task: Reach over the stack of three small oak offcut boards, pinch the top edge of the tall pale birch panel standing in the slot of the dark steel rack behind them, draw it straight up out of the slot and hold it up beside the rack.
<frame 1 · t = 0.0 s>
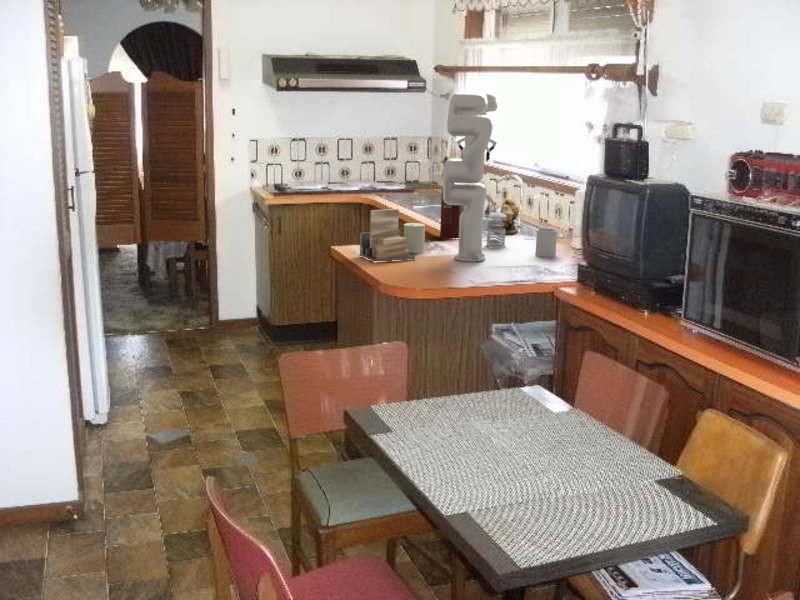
hand: (475, 161, 390), 37 cm above the table, tool pointing down, fingers open, 9 cm apart
offcut bottom: (390, 256, 362), point 1 cm above the table, touching offcut middle, steel rack
can: (413, 251, 382), on the table
french press: (493, 246, 398), on the table
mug: (546, 255, 381), on the table
steel rack: (387, 258, 366), on the table
offcut top: (392, 244, 361), point 6 cm above the table, touching offcut middle
birch panel: (383, 253, 368), point 1 cm above the table, touching steel rack
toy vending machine: (450, 238, 418), on the table
offcut middle: (389, 250, 362), point 4 cm above the table, touching offcut bottom, offcut top
tan bust sculpture: (505, 232, 437), on the table
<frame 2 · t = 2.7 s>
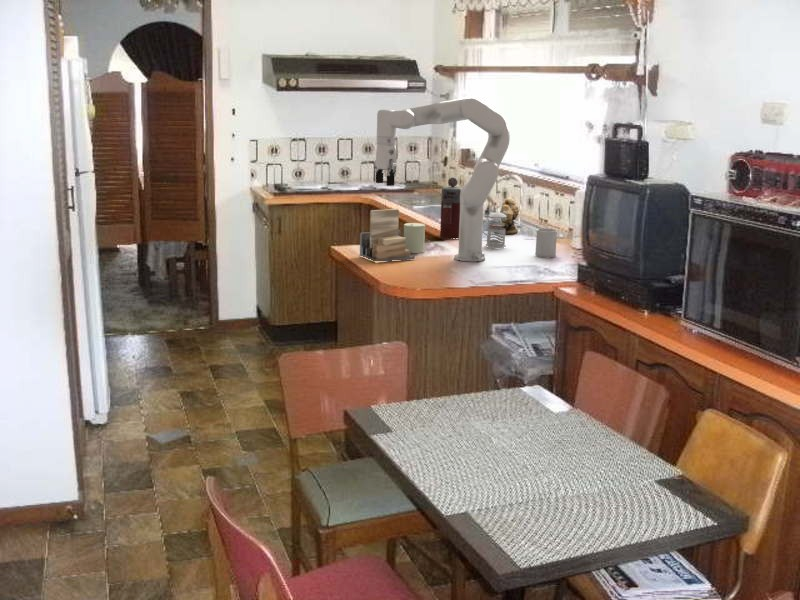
hand: (384, 184, 361), 30 cm above the table, tool pointing down, fingers open, 9 cm apart
nothing on the table moved.
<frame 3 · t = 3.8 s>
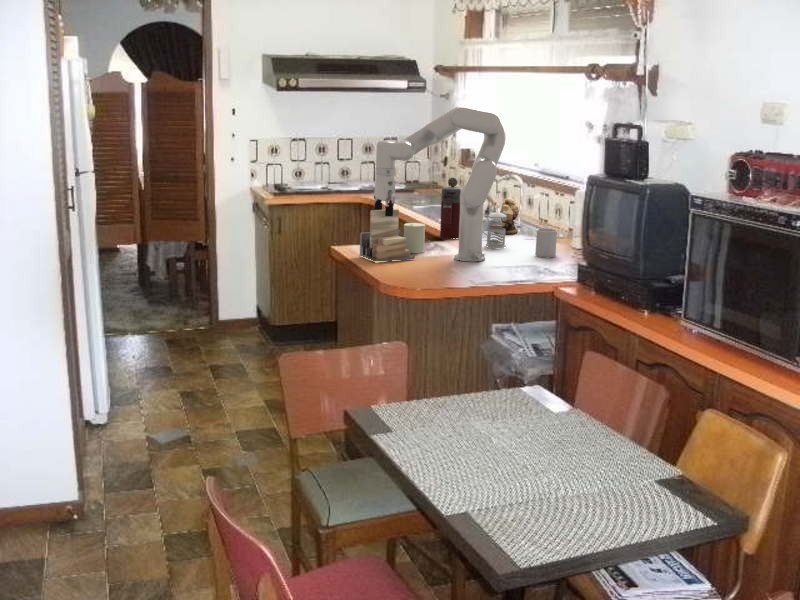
hand: (383, 214, 364), 18 cm above the table, tool pointing down, fingers open, 9 cm apart
nothing on the table moved.
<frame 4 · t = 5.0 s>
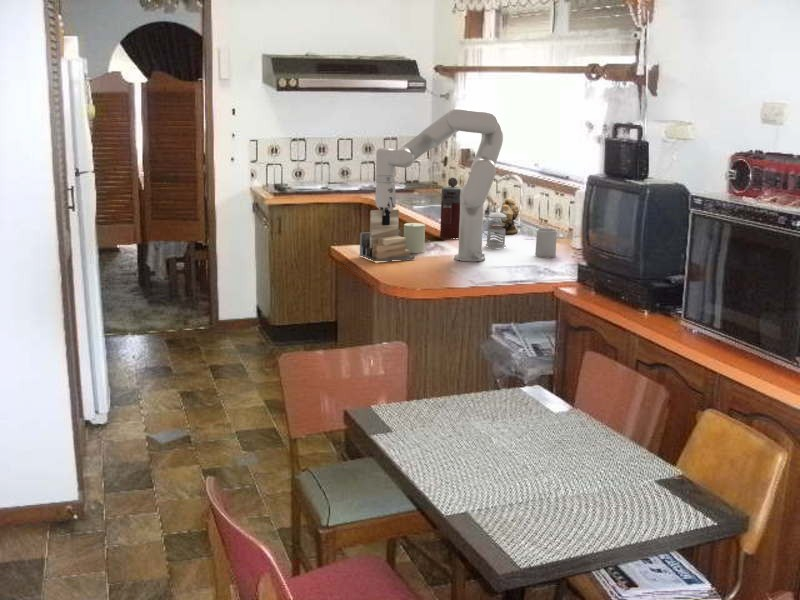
hand: (384, 224, 365), 14 cm above the table, tool pointing down, fingers closed on birch panel, 2 cm apart
birch panel: (383, 253, 368), point 2 cm above the table, touching gripper
everything else where it was.
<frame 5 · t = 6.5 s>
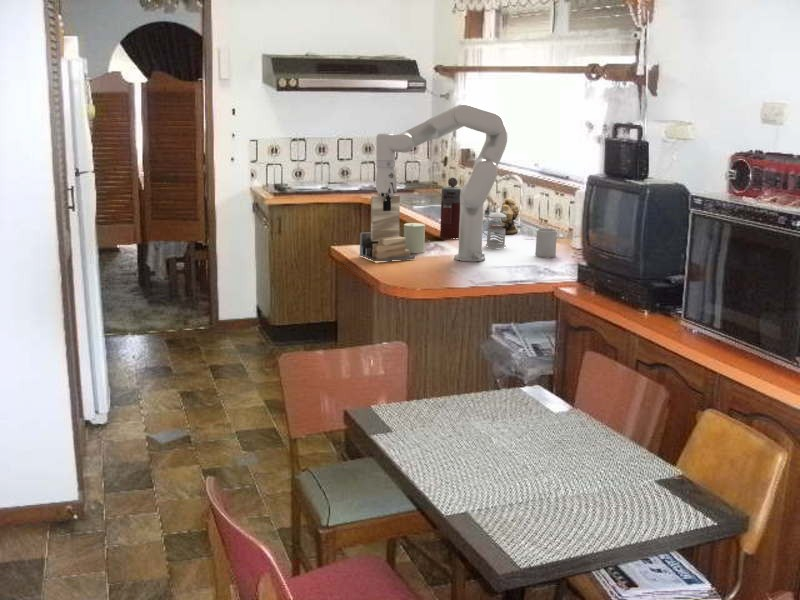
hand: (385, 210, 363), 20 cm above the table, tool pointing down, fingers closed on birch panel
birch panel: (385, 240, 366), point 7 cm above the table, touching gripper
everything else where it was.
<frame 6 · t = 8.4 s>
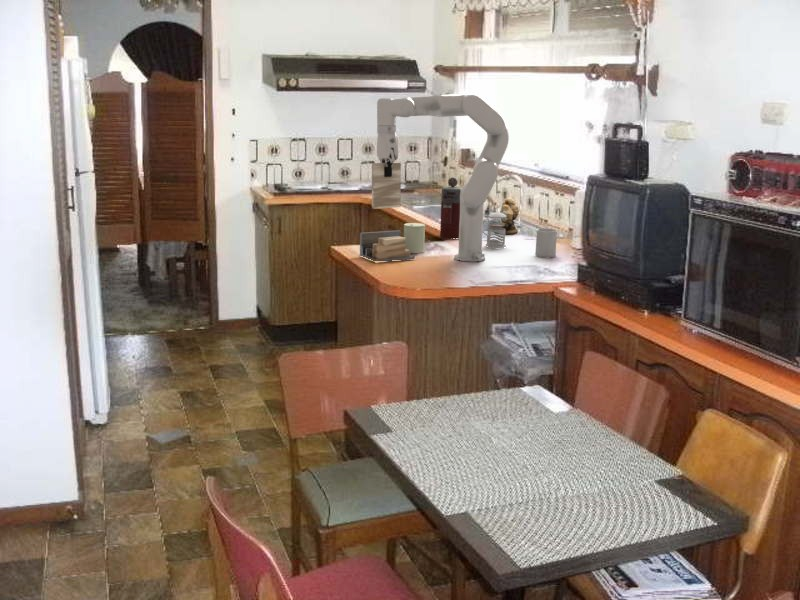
hand: (386, 176, 360), 33 cm above the table, tool pointing down, fingers closed on birch panel
birch panel: (386, 207, 363), point 20 cm above the table, touching gripper
everything else where it was.
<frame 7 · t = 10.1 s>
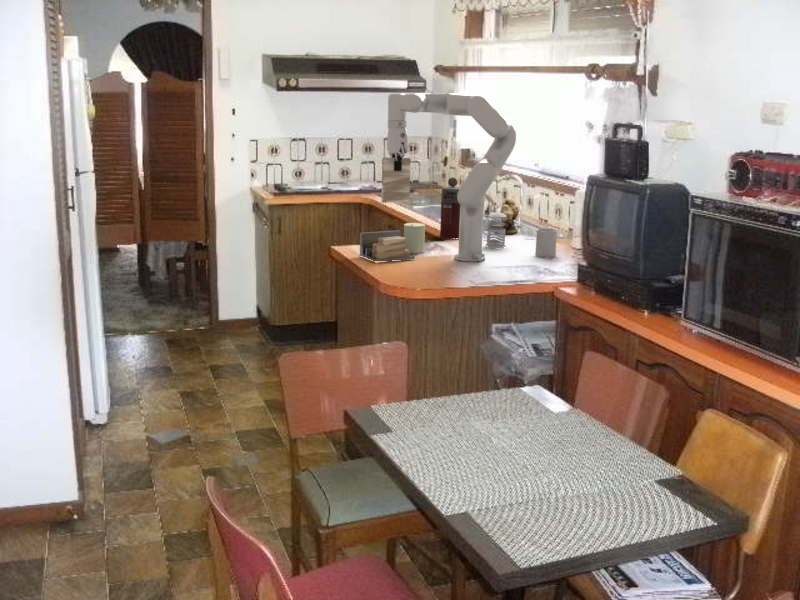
hand: (396, 170, 366), 35 cm above the table, tool pointing down, fingers closed on birch panel
birch panel: (395, 201, 369), point 22 cm above the table, touching gripper
everything else where it was.
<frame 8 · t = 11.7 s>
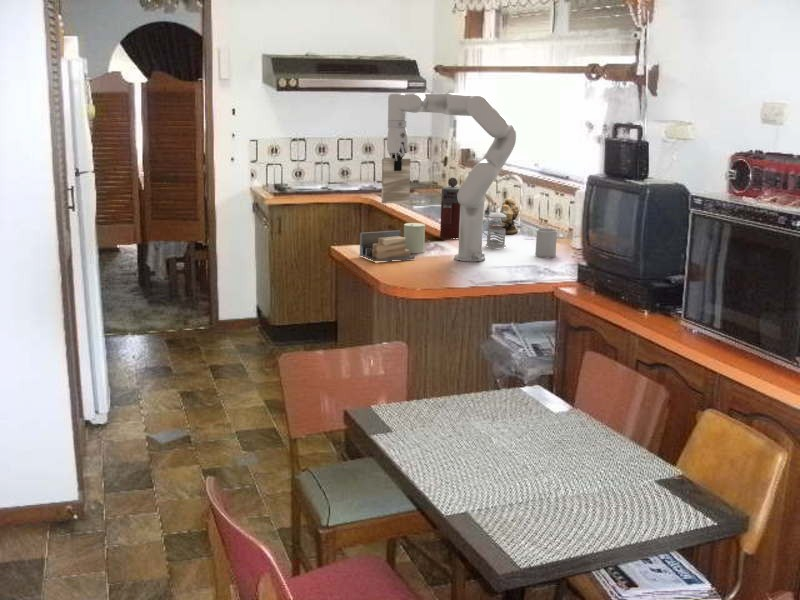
hand: (396, 170, 366), 35 cm above the table, tool pointing down, fingers closed on birch panel
birch panel: (395, 202, 369), point 22 cm above the table, touching gripper
everything else where it was.
at the end: the gripper is holding birch panel; birch panel point 21.7 cm above the table; offcut top moved 0.0 cm from its start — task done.
